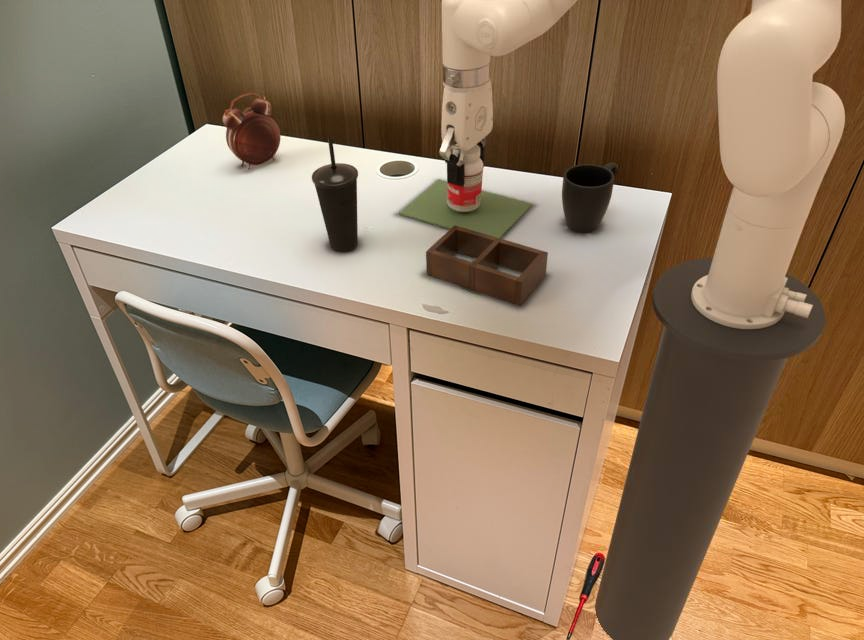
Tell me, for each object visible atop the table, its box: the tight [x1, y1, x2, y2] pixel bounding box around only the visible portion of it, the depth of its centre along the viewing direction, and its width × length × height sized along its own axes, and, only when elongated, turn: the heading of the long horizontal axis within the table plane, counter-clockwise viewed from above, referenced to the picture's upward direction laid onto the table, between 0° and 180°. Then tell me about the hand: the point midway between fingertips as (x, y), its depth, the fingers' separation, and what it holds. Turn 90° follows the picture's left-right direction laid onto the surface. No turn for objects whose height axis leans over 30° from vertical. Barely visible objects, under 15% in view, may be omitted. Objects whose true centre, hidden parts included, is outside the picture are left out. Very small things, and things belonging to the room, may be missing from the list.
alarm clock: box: [222, 91, 281, 170], centre depth 146 cm, size 11×5×15 cm, turn 124°
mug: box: [561, 162, 619, 234], centre depth 122 cm, size 8×12×10 cm
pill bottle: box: [447, 143, 484, 212], centre depth 127 cm, size 6×6×11 cm
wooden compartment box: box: [425, 225, 549, 306], centre depth 114 cm, size 17×9×4 cm, turn 55°
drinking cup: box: [311, 136, 359, 253], centre depth 119 cm, size 8×8×20 cm
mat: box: [398, 179, 533, 239], centre depth 131 cm, size 20×14×1 cm
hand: (465, 174), depth 126 cm, fingers closed on pill bottle, 6 cm apart
